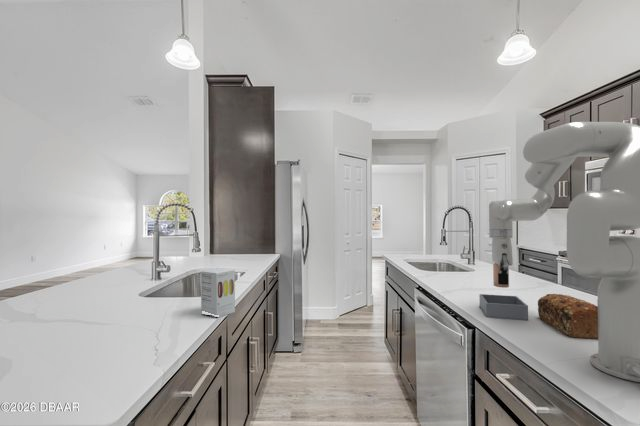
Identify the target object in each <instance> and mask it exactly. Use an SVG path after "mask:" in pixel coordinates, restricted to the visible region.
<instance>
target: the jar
mask: <svg viewBox="0 0 640 426" xmlns="http://www.w3.org/2000/svg"><path fill="white" fill-rule="evenodd" d="M500 265H503V264H500ZM492 267H493V268H492V269H493V273H492V274H493V284H492V285H493V286H494V287H496V288H504V289H505V288H509V287H510V273H509V272H510V265H508V285H502V284H498V273H499V266H498V265H497V264H496V263H495V262H494V263H493V264H492ZM501 268H502V267H501Z"/></svg>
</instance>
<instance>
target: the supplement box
mask: <svg viewBox="0 0 640 426" xmlns="http://www.w3.org/2000/svg"><path fill="white" fill-rule="evenodd" d="M235 271H236V270H235V269H233V268H223V267H218V268H214V269H213V268H212V269H208V270H202V271H200V303H201V304H200V305H201V307H200V309H201V311H205V312H208V313H211V314H214V315H219V316H220V317H219V318H221V317H224V316H226V315H231V314H232V313H235V312H236V287H235V286H236V281H235V280H236V279H235V278H236V277H235V276H236V274H235V273H236V272H235ZM201 311H200V312H201Z"/></svg>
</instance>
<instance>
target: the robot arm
mask: <svg viewBox="0 0 640 426" xmlns="http://www.w3.org/2000/svg"><path fill="white" fill-rule="evenodd" d="M522 155H523V158H524V160H526V161H527V162H528V163H531V164H530V166H529V167H528V168H527V170H526V171H525V173H524V178H525V181H526V182H527V183H528V184H529V185H530V186H532V187H534V188H536V189H537V190H536V192H535V194H533V195H532V196H531V198H527V199H525V198H517V199H504V200H493V201H490V202H489V205H488V215H489V216H488V223H489V230H488V231H489V234H488V235H489V236H488V237H489V239H492V241H491V259H492V262H493V263H494V264H495V263H496V264H497V265H498V266H499V273H498V284H502V285H508V265H509V267H510V266H511V267H512V266H513V265H514V264H513V263H514V262H513V260H514V259H513V247H512V239H513V231H514V229H513V222H518V221H519V222H521V221H522V222H523V221H524V222H526V221H535V220H538V219H540V218H541V217H542V216H543V215H545V214H546V212H547V211H549V209H550V208H551V206H552V205H553V204H554V201H555V197H556V196H555V195H556V191H555V187H554V185H556V183H557V182H558V181H559V179H560V178H561V177H562V176H563V175H564V173H565V172H566V171H567V170H568V169H569V168H570V166H571V165H572V164H573V163H574V162H575V160H576V159H577V158H578V157H579V158H583V157H585V158H586V157H587V158H592V157H593V158H594V157H599V158H600V157H601V158H604V157H605V158H608V159H607V160H606V162H605V163H604V165H603V166H602V169H601V172H600V177H599V179H600V184H599V186H600V187H599V189H598V190H587V191H584V192H580V193H579V194H577V195H576V196H575V197H574V198H573V199H572V200H571V202H570V203H569V205H568V209H567V213H566V257H567V262H568V265H569V266H570V268H571V269H572V271H574V272H575V274H577V275H579V276H581V277H584V278H591V279H601V280H600V282H599V284H598V286H597V287H598V288H597V305H596V306H597V307H598V339H597V348H598V349H597V350H598V351H597V353H594V354H592V355H590V357H589V358H590V359H589V361H590V364H591V365H592V366H593V367H595V368H596V369H598V370H599V371H601V372H603V373H605V374H608V375H611V376H613V377H616V378H620V379H623V380H627V381H631V382H637V383H640V237H638V236H633V235H632V236H631V235H610V233H611V231H612V232H614V231H615V232H616V231H633V230H637V229H640V125H638V124H634V123H630V122H623V121H622V122H619V121H572V122H568V123H567V122H566V123H564V124H562V125H558V126H556V127H555V126H554V127H552V128H549V129H546V130H542V131H540V132H538V133H535V134H533V135H532V136H531V137H529V138H528V139H527V141H525V144H524V145H523V149H522ZM500 264H503V265H500ZM501 267H502V268H501Z"/></svg>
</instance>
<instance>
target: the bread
mask: <svg viewBox="0 0 640 426" xmlns="http://www.w3.org/2000/svg"><path fill="white" fill-rule="evenodd" d="M537 311H538V312H537V313H538V318H539V319H540V320H542V321H543V322H545V323H546V324H547V325H549V326H551V327H553V328H554V329H556V330H558V331H559V332H560V333H562V334H564V335H566V336H568V337H572V338H576V339H592V340H593V339H594V340H598V305H596V304H593V303H591V302H588V301H586V300H584V299H580V298H576V297H574V296H571V295H569V294H568V295H567V294H562V293H559V294H557V293H548V294H546V295H543V296H541V297H540V298H539V299H538V301H537Z"/></svg>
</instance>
